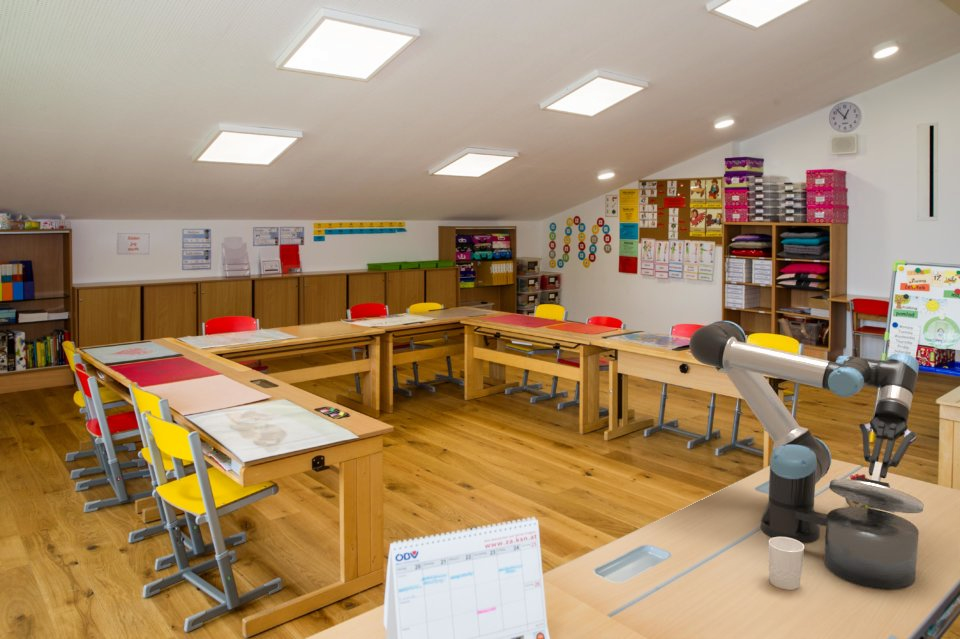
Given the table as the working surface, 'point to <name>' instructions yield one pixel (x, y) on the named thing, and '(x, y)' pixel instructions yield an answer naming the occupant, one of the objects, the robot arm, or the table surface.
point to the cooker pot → (868, 546)
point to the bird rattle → (853, 503)
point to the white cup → (785, 562)
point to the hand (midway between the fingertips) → (874, 487)
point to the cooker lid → (876, 495)
